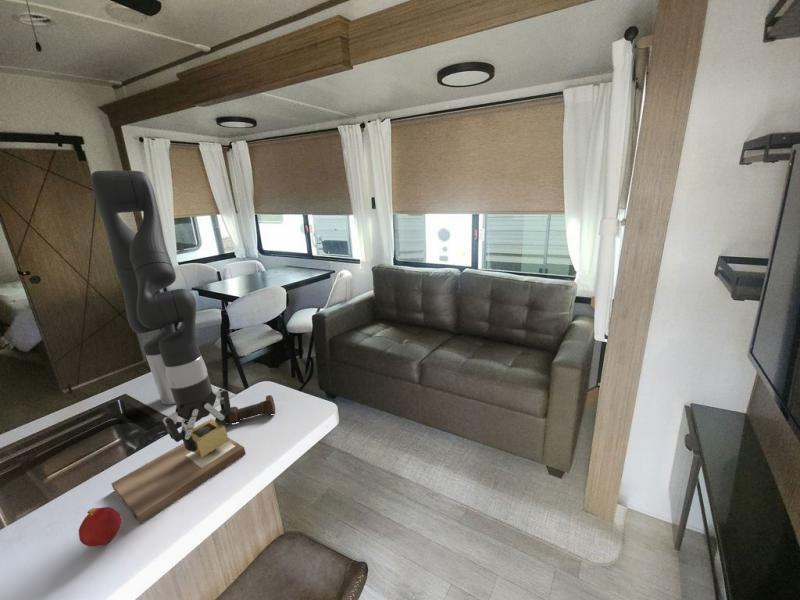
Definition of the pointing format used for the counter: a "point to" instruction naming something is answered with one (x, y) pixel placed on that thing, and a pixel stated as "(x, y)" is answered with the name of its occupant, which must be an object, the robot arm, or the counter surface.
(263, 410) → the bolt
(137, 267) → the robot arm
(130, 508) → the post board
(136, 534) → the counter surface
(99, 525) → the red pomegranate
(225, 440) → the collar
